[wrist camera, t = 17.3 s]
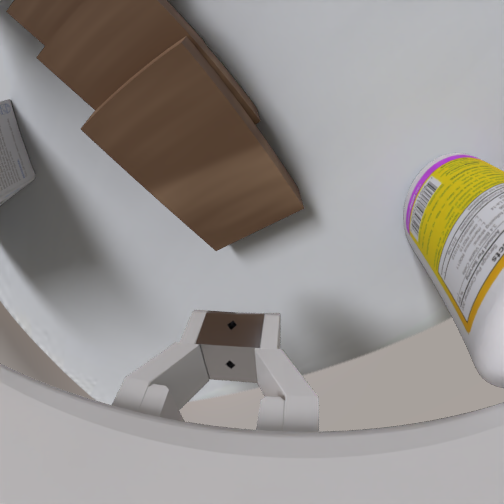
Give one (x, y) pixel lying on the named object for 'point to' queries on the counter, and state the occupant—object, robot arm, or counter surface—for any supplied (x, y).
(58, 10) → the domino
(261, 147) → the domino
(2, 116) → the light bulb box
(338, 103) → the counter surface
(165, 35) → the domino
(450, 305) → the supplement bottle
